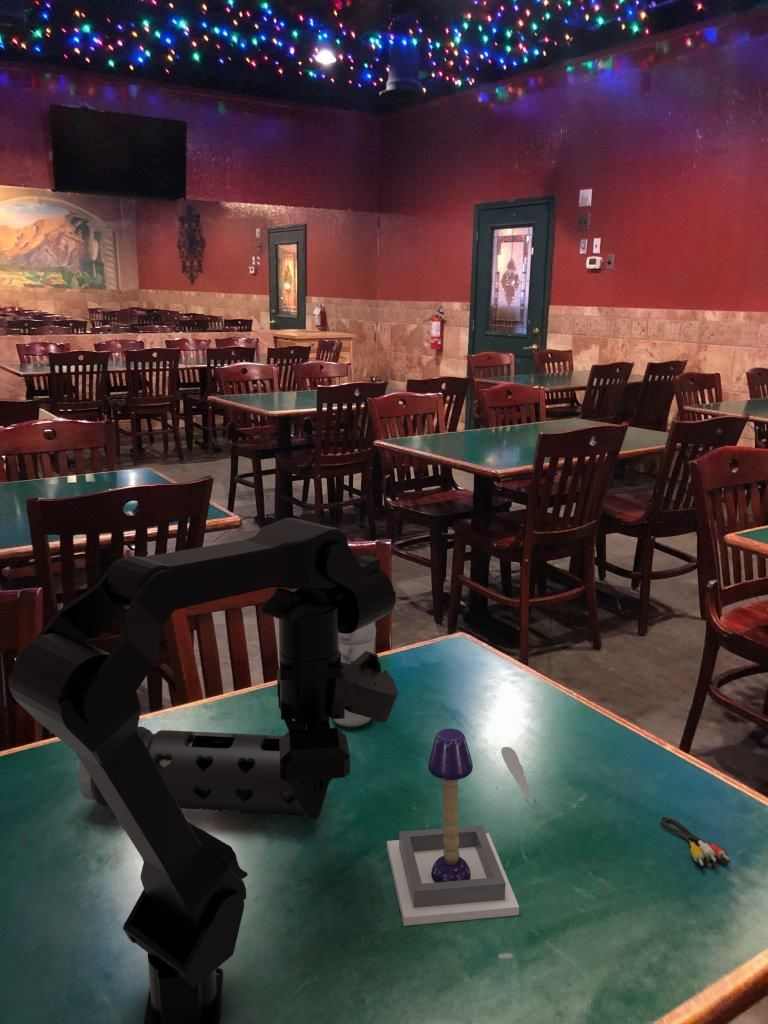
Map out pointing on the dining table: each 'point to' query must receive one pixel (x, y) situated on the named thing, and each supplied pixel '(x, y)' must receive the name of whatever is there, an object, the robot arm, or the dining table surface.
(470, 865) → the socket plate
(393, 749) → the dining table surface
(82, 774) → the muzzle brake
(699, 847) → the composite cable
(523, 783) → the butter knife
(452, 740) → the toy lamp
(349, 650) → the plastic bottle
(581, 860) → the dining table surface
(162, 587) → the robot arm
